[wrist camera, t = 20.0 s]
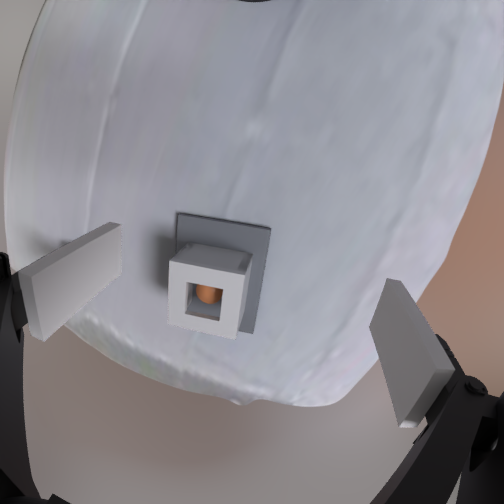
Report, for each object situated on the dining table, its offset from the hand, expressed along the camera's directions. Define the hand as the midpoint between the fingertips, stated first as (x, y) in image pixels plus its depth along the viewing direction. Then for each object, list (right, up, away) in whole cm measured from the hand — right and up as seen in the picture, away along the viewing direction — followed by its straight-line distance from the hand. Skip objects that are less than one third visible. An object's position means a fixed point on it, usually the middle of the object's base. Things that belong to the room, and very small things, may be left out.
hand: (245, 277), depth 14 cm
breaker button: (-5, -3, +34) cm, 34 cm away
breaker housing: (-5, -2, +35) cm, 36 cm away
